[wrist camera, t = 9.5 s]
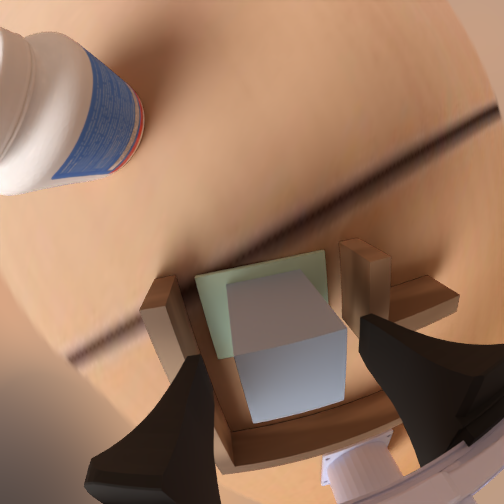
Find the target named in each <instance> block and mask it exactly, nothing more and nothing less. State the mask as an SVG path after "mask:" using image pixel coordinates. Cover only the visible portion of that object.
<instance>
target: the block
mask: <svg viewBox="0 0 504 504" xmlns="http://www.w3.org/2000/svg"><path fill="white" fill-rule="evenodd" d="M226 289H227V299H228V309H229V318H230V328H231V337H232V346H233V354H234V359H235V362H236V366H237V370H238V373H239V377H240V380H241V384H242V387H243V391H244V394H245V397H246V401H247V404H248V407H249V411H250V414H251V417H252V421H253V424H254V423H260V422H265V421H269V420H274V419H279V418H283V417H287V416H291V415H295V414H299V413H303V412H307V411H310V410H314V409H317V408H321V407H324V406H327V405H330V404H334V403H337V402H340V401H343V400H344V393H345V377H346V355H347V327H346V326H345V325H344V324H343V322H342V321H341V320H340V318H339V317H338V316H337V315H336V313H335V312H334V311H333V310H332V308H331V307H330V306H329V304H328V303H327V302H326V301H325V299H324V298H323V297H322V296H321V294H320V293H319V292H318V291H317V289H316V288H315V287H314V286H313V284H312V283H311V282H310V281H309V279H308V278H307V277H306V276H305V274H304V273H303V272H302V271H301V269H298V270H293V271H289V272H284V273H279V274H275V275H270V276H265V277H260V278H256V279H251V280H246V281H241V282H236V283H231V284H226Z"/></svg>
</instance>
